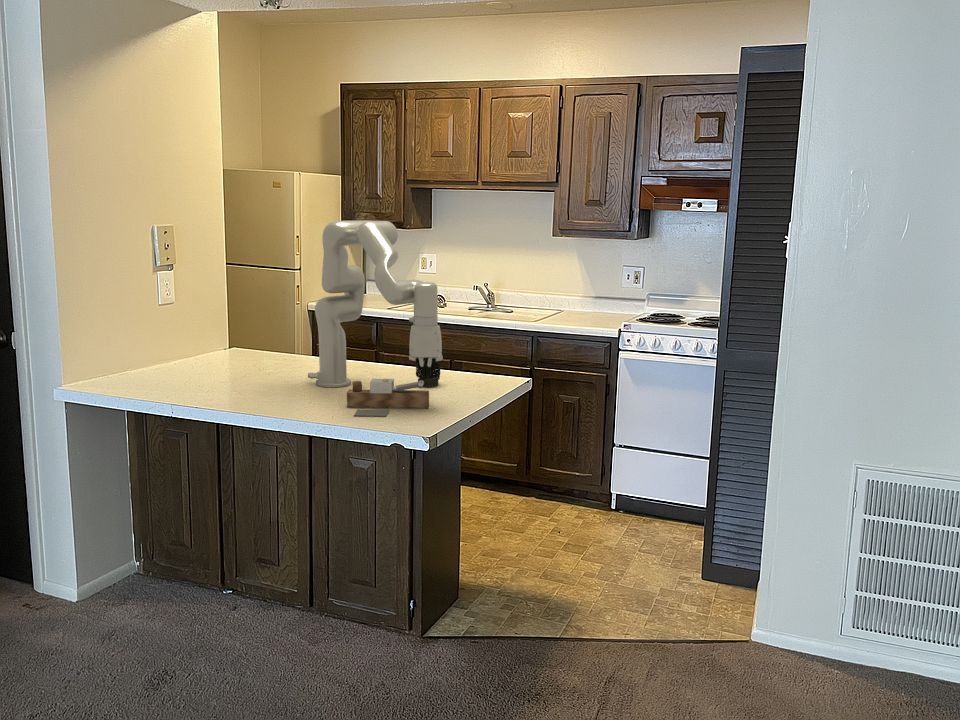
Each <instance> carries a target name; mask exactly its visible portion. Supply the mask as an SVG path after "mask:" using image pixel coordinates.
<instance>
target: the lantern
mask: <svg viewBox="0 0 960 720" xmlns="http://www.w3.org/2000/svg"><path fill="white" fill-rule="evenodd" d="M414 362H415V363H414V365H415V376H416V378H417V382H419V381H420V380H423V381H424V384H423V387H422V388H424V389H425V388H426V389H431V388H436V387H438V386H439V384H440V383H439V380H440V378H441V360H440V361H436V362H434V363H433V364H432V365H431V376H429V378H428V379H426V378H425V379H423V376H421V366H420V365H419V364H418V363H417V362H416V361H414ZM424 363H425V366H427V363H428V358H424Z"/></svg>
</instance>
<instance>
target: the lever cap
mask: <svg viewBox="0 0 960 720" xmlns="http://www.w3.org/2000/svg"><path fill="white" fill-rule="evenodd" d="M394 388H395V379H394V378H371V380H370V381H369V390H370V393H392V392H393V391H394Z"/></svg>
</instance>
